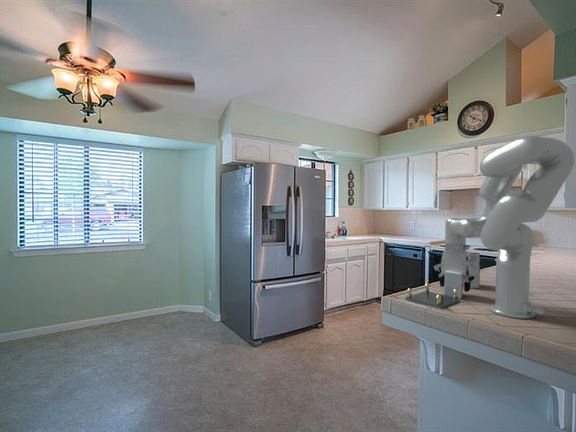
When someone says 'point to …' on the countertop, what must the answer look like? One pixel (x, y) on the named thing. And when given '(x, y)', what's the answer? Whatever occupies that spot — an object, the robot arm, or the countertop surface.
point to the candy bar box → (474, 264)
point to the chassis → (433, 298)
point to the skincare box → (453, 283)
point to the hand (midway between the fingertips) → (454, 288)
